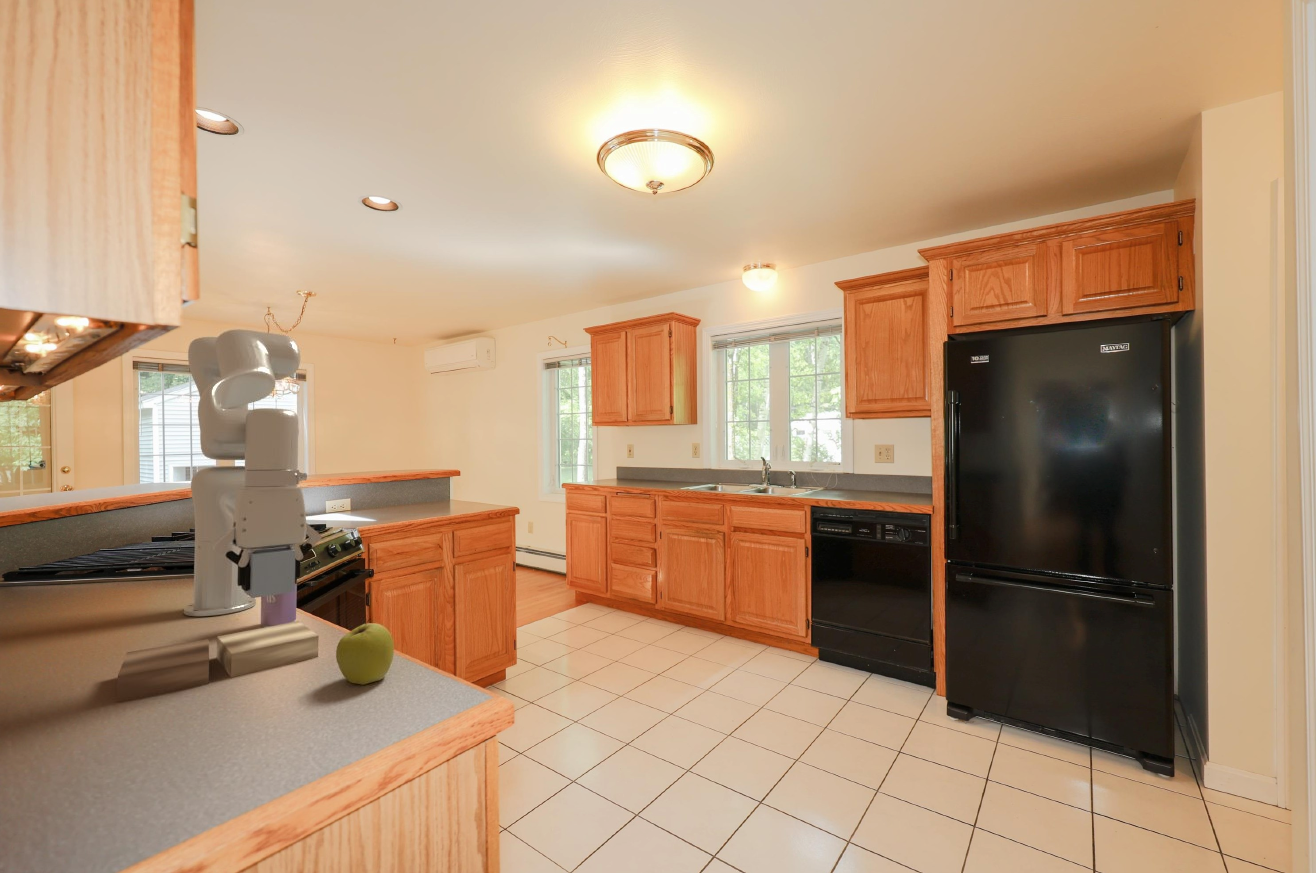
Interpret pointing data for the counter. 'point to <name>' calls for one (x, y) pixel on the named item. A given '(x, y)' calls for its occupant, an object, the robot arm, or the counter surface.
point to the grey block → (271, 572)
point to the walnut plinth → (163, 670)
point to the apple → (365, 653)
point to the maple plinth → (266, 648)
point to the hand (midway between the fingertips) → (269, 585)
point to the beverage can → (278, 608)
